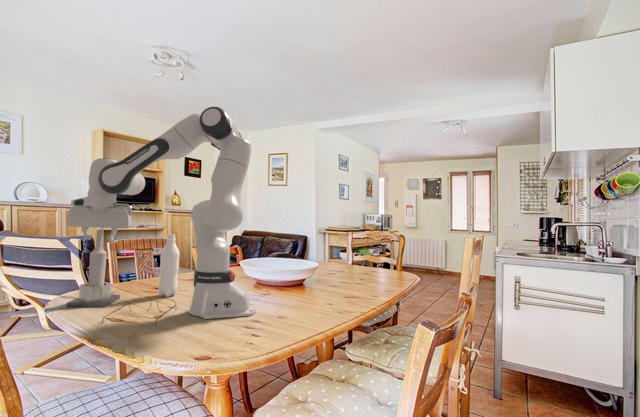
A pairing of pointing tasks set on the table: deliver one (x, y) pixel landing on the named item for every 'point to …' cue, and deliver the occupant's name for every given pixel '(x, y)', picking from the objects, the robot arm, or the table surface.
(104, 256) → the bottle
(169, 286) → the water bottle
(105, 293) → the collar holder
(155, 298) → the eyeglasses
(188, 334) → the table surface
